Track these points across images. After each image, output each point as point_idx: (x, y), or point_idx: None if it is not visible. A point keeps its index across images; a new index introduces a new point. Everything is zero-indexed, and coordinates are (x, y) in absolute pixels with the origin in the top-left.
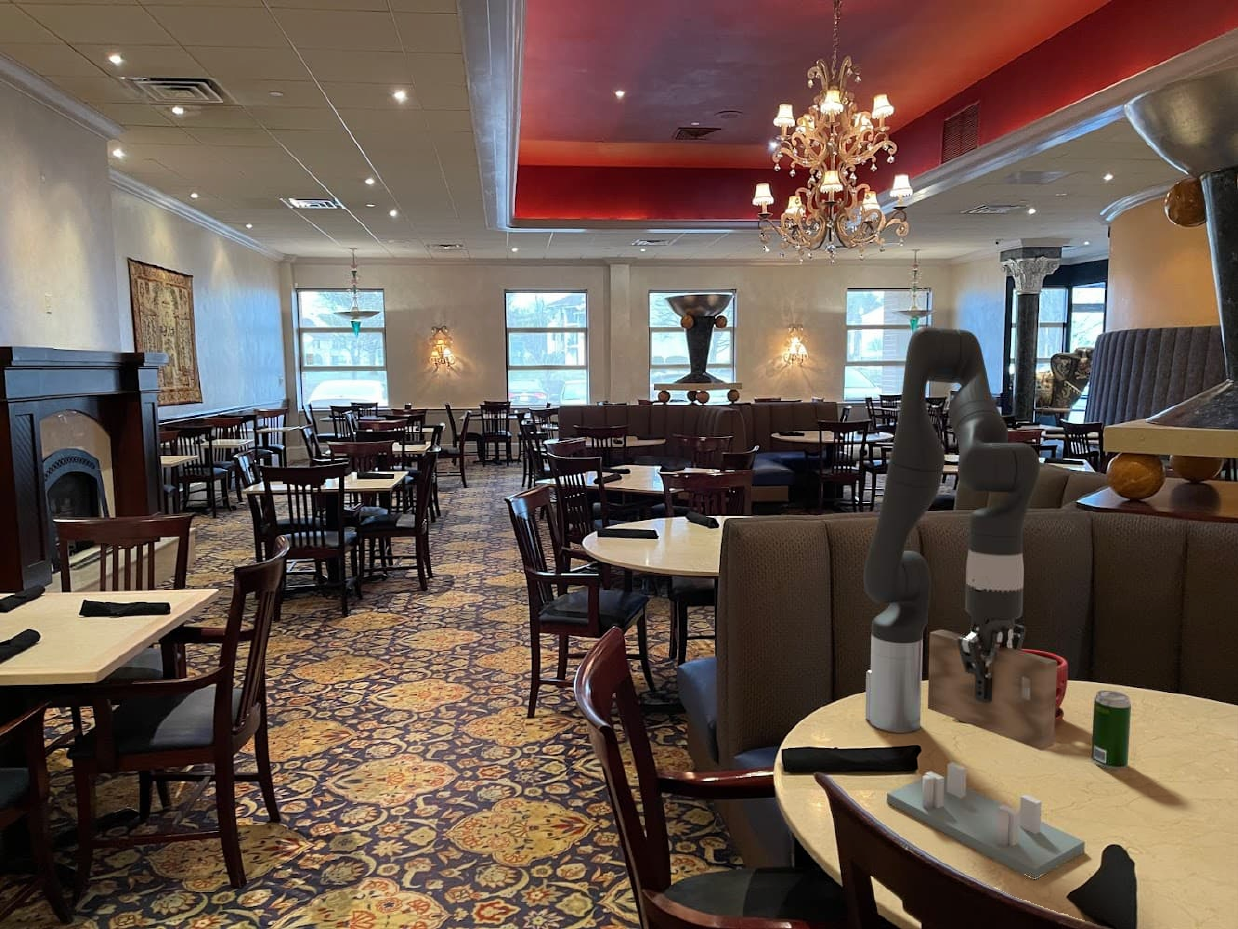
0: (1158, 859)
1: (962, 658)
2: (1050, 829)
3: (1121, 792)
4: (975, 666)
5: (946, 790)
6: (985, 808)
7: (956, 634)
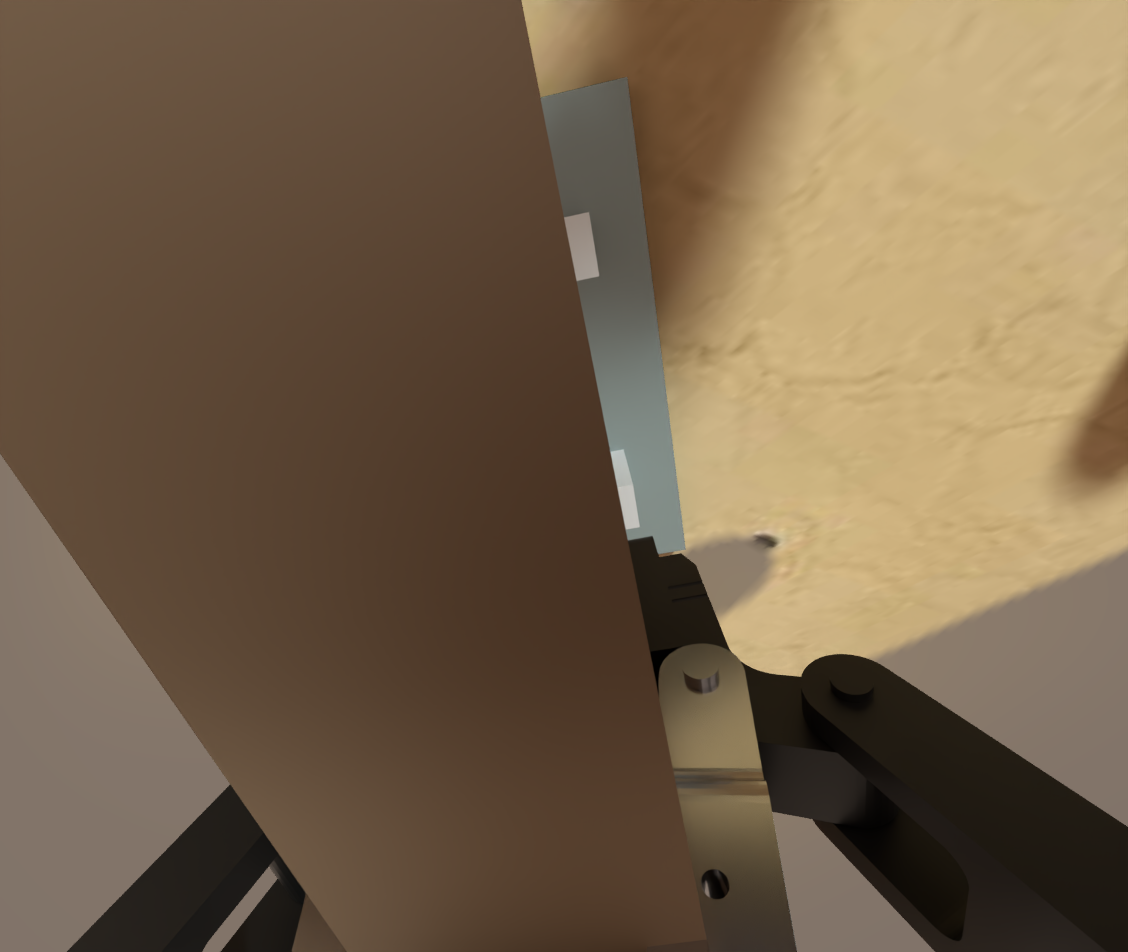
0: (791, 600)
1: (92, 939)
2: (661, 489)
3: (1058, 382)
4: (225, 949)
5: (565, 210)
6: (593, 350)
7: (493, 422)
